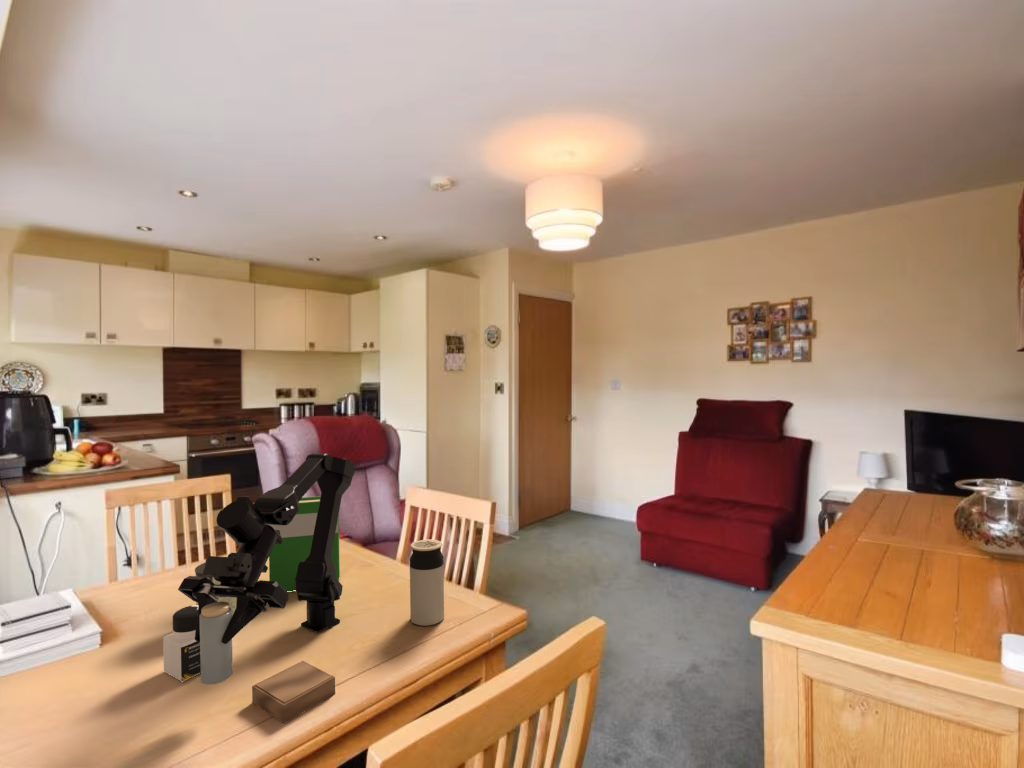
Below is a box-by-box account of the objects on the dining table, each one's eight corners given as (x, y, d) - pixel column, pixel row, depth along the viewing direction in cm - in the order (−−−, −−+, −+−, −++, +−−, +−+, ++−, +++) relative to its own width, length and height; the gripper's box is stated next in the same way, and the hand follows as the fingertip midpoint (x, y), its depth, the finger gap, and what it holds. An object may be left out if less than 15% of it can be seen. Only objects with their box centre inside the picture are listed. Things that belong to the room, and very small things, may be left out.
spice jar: (195, 678, 89) (194, 608, 89) (224, 665, 93) (223, 598, 93) (209, 687, 87) (207, 615, 86) (238, 674, 91) (236, 605, 90)
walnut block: (252, 702, 93) (252, 685, 93) (303, 676, 101) (302, 659, 101) (284, 723, 87) (283, 704, 87) (335, 693, 95) (335, 676, 95)
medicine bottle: (181, 683, 99) (180, 620, 99) (163, 672, 103) (162, 611, 103) (219, 665, 105) (218, 606, 105) (200, 655, 109) (199, 598, 109)
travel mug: (437, 628, 120) (436, 550, 120) (405, 625, 122) (404, 548, 122) (448, 613, 128) (447, 539, 128) (418, 610, 130) (417, 538, 129)
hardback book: (339, 576, 152) (338, 494, 152) (338, 586, 145) (337, 500, 145) (273, 584, 147) (272, 499, 147) (269, 594, 140) (268, 505, 140)
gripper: (185, 532, 95) (132, 620, 84) (277, 536, 92) (235, 628, 81) (217, 560, 103) (173, 644, 92) (303, 565, 100) (268, 652, 89)
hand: (210, 642), depth 89 cm, fingers closed on spice jar, 5 cm apart
